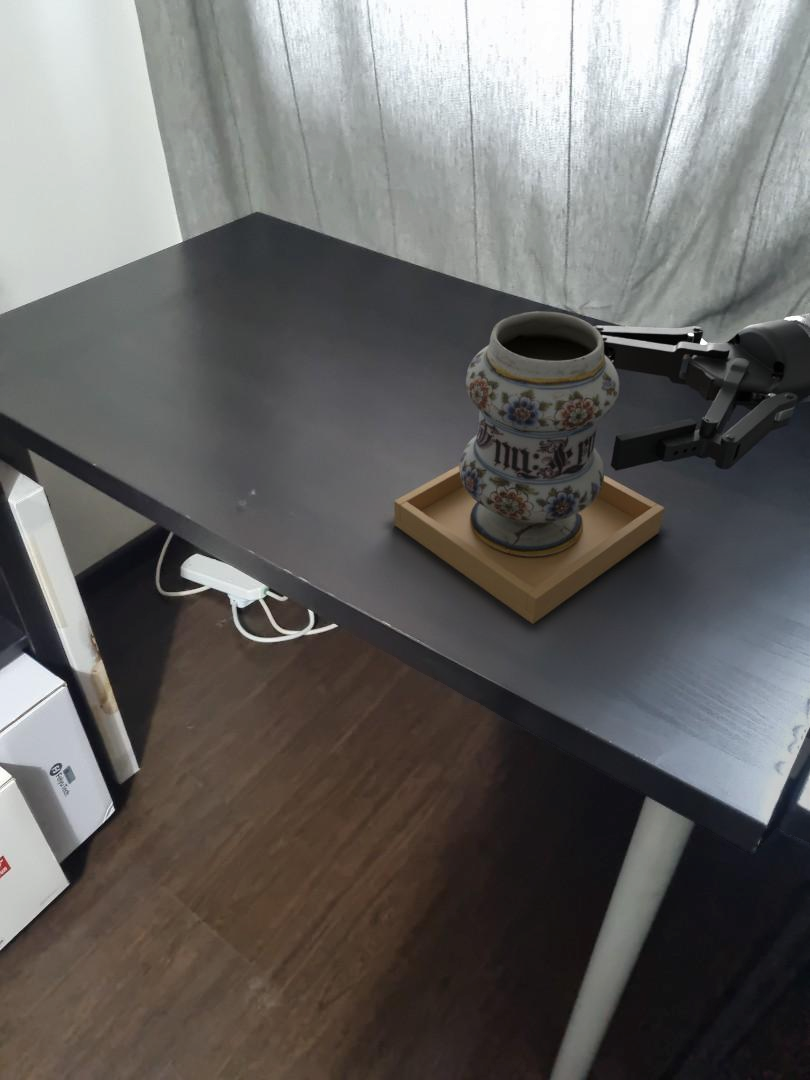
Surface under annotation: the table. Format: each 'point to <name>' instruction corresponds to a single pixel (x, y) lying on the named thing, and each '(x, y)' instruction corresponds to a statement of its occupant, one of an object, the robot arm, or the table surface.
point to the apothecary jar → (536, 431)
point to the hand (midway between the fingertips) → (571, 408)
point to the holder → (527, 581)
